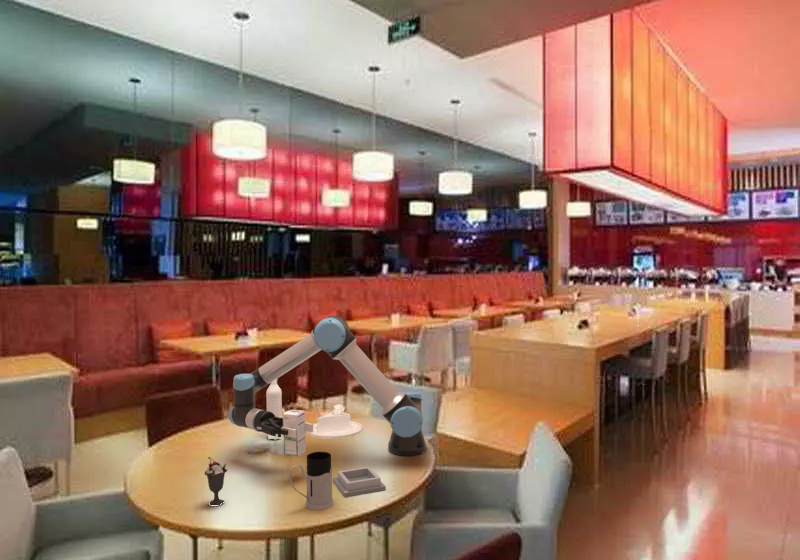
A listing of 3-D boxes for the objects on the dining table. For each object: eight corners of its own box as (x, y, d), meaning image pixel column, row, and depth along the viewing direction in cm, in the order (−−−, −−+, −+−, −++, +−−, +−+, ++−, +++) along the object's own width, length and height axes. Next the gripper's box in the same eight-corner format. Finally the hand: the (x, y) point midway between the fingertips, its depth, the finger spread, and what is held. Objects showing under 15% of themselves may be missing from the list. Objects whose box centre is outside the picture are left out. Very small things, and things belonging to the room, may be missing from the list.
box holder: (371, 475, 196) (371, 464, 196) (385, 490, 183) (385, 478, 183) (332, 481, 191) (332, 470, 191) (344, 497, 178) (344, 485, 178)
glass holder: (338, 504, 172) (338, 456, 172) (296, 517, 164) (295, 466, 164) (325, 495, 180) (324, 449, 179) (284, 506, 171) (283, 458, 171)
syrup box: (306, 451, 195) (305, 409, 194) (297, 456, 189) (296, 414, 189) (291, 449, 197) (291, 408, 196) (283, 455, 191) (282, 413, 191)
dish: (340, 419, 268) (340, 396, 268) (373, 431, 249) (373, 405, 249) (296, 430, 251) (295, 405, 251) (328, 443, 233) (328, 416, 233)
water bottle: (281, 440, 237) (280, 381, 236) (266, 441, 236) (265, 382, 235) (283, 434, 245) (282, 377, 244) (268, 434, 244) (267, 378, 244)
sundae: (200, 506, 172) (199, 458, 172) (215, 497, 179) (214, 451, 178) (217, 509, 170) (216, 460, 170) (231, 500, 176) (231, 453, 176)
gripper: (282, 424, 212) (325, 434, 197) (238, 437, 196) (281, 450, 182) (282, 404, 211) (324, 413, 197) (237, 416, 196) (281, 427, 182)
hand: (304, 431), depth 190 cm, fingers closed on syrup box, 7 cm apart
